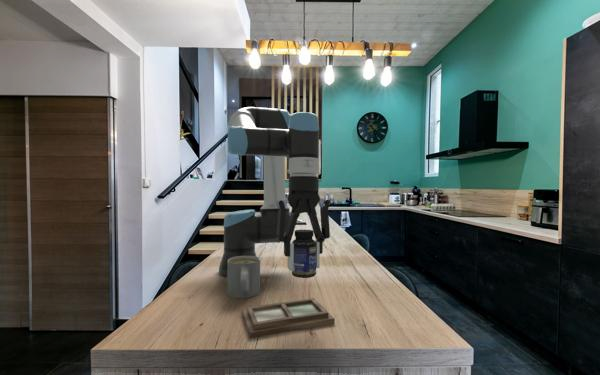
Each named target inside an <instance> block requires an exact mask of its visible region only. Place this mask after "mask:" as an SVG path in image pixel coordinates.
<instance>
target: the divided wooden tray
mask: <svg viewBox="0 0 600 375" xmlns="http://www.w3.org/2000/svg"><path fill="white" fill-rule="evenodd" d="M242 317H243V320H244V323H245V324H244V325H245V326H246V329H247V332H248V336H249V338H250V339H253V338H254V339H255V338H259V337H264V336H271V335H272V336H273V335H276V334H282V333H289V332H293V331H294V332H295V331H299V330H307V329H311V328H317V327H323V326H327V325H329V326H330V325H333V324H335V317H334V316H333V315H332V314H331V313H330V312H329V311H327V309H325V308H324V306H323V305H321V304H320V303H319V301H317V299H315V297H312V298H304V299H299V300H298V299H297V300H290V301H283V302H276V303H275V302H274V303H268V304H267V303H266V304H261V305H254V306H248V307H246V308H245V309H242Z"/></svg>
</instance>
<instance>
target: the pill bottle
mask: <svg viewBox="0 0 600 375" xmlns="http://www.w3.org/2000/svg"><path fill="white" fill-rule="evenodd" d="M294 237H295V239H294V240H292V241H291V242H292V243H293V244H294V271H291V275H292V276H294V277H295V278H300V279H309V278H313V277H315V276H316V274H317V268H316V242H315V241H314V240H315V239H313V237H314V232H313V229H294Z"/></svg>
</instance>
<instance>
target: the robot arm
mask: <svg viewBox="0 0 600 375" xmlns="http://www.w3.org/2000/svg"><path fill="white" fill-rule="evenodd" d="M228 125H229V126H228V129H227V151H228V153H229V154H230V155H238V156H263V205H262V206H261V207H260V209H259V211H260V212H259V213H258V212H257V213H256V210H255V209H244V210H237V211H232V212H229V213H226V214H225V216H224V218H223V219H224V220H223V226H222V227H223V229H224V230H223V253H222V254H223V255H222V257H221V260H220V262H219V267H218V274H219V275H220V276H222V277H225V278H227V261H228V259H230V258H232V257H237V256H256V257H258V256H257V253H256V245H257V244H270V243H271V244H272V243H273V244H274V243H277V244H280V243H283V255H284V256H285V257H287V265H286V266H287V269H288V270H289V271H290V272H292V271H294V244H293V243H292V242H293V241H292V239H293V235H294V234H295V230H296V225H297V222H298V220H299V217H300V215H301V214H305V213H306V214H307V216H308V218H309V220H310V224H311V228H312V230H313V236H314V238H315V239H313V240H314V241H315V242H316V269H320V256H321V255H322V254H323V251H324V250H323V249H324V248H323V244H324V242H325V240H326V239H330V237H331V232H330V216H329V207H330V204H331V201H330V199H323V198H321V196H320V194H319V187H320V186H319V182H320V181H319V177H318V176H317V175H318V174H319V168H320V166H319V164H320V163H319V162H320V160H319V159H320V158H319V153H320V152H319V151H320V150H319V147H320V146H319V144H320V139H319V138H320V135H319V134H320V126H319V125H320V124H319V117H318V115H317V114H316V113H312V112H306V111H305V112H304V111H299V112H295V113H292V114H291V113H290V112H289V111H288V110H287V109H280V108H279V107H277V108H271V107H269V108H268V107H258V106H257V107H255V106H247V107H242V108H239V109H237V110H236V111H234V112H232V114H231V115H230V116H229V120H228ZM285 158H287V159H288V174H289V175H290V176H289V177H288V195H287V196H286V167H285V166H286V163H285V162H286V161H285V160H286V159H285ZM288 204H289V206H288ZM318 204H319V205H318ZM317 206H319V208H320V209H319V212H320V223H319V219H318V216H317V215H318V213H317V211H316V210H317V209H316V208H317ZM290 207H291V210H290Z"/></svg>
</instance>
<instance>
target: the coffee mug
mask: <svg viewBox="0 0 600 375" xmlns="http://www.w3.org/2000/svg"><path fill="white" fill-rule="evenodd" d="M256 256H257V255H256ZM256 256H237V257H232V258H230V259H228V261H227V277H226V282H227V286H226V292H227V295H228V296H229V297H231V298H235V299H247V298H251V297H256V296H257V295H259V294H260V293H261V258H260V257H258V256H257V257H256Z"/></svg>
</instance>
